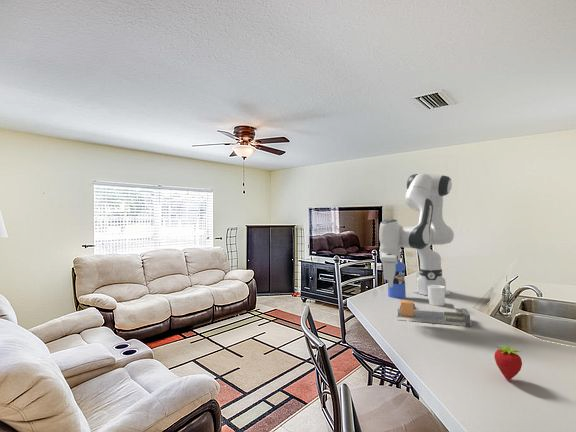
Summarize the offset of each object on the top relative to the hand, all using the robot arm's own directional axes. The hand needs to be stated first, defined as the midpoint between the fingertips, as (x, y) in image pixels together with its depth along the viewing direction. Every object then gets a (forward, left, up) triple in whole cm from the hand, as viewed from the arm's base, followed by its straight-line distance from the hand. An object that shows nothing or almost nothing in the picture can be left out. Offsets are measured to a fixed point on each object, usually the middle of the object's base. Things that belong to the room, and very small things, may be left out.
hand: (391, 286), depth 140 cm
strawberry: (+48, +32, -14) cm, 59 cm away
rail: (0, +16, -13) cm, 21 cm away
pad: (-11, +6, -13) cm, 19 cm away
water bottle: (-33, 0, -14) cm, 36 cm away
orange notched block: (-1, +6, -12) cm, 13 cm away
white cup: (-22, +19, -14) cm, 33 cm away
